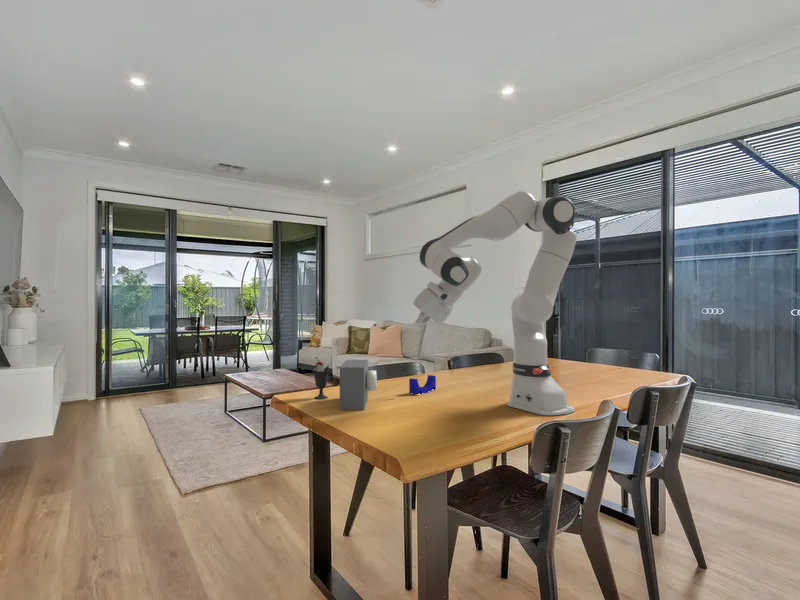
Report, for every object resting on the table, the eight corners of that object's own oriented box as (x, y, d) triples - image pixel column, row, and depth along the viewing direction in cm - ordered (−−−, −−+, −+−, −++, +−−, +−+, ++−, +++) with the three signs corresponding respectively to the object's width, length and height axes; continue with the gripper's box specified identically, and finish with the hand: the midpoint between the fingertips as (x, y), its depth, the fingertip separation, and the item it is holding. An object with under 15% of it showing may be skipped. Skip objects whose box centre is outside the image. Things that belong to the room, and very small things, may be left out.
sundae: (309, 396, 160) (309, 356, 160) (327, 395, 163) (327, 355, 163) (314, 400, 154) (314, 358, 154) (332, 398, 157) (332, 357, 157)
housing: (368, 397, 159) (368, 359, 159) (363, 410, 141) (364, 367, 141) (346, 397, 159) (346, 359, 159) (339, 409, 141) (339, 367, 141)
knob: (376, 388, 154) (376, 369, 154) (375, 392, 147) (375, 372, 147) (351, 388, 154) (351, 368, 154) (349, 392, 147) (349, 372, 147)
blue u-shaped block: (417, 396, 163) (417, 380, 163) (409, 394, 166) (409, 378, 166) (438, 391, 171) (438, 376, 171) (430, 389, 175) (430, 374, 175)
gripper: (449, 300, 161) (424, 327, 162) (427, 280, 144) (399, 310, 145) (460, 310, 158) (434, 337, 159) (439, 291, 141) (411, 321, 142)
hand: (417, 324), depth 152 cm, fingers closed
